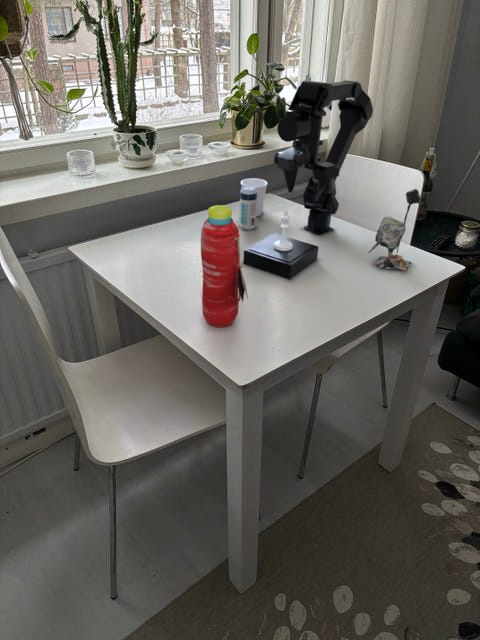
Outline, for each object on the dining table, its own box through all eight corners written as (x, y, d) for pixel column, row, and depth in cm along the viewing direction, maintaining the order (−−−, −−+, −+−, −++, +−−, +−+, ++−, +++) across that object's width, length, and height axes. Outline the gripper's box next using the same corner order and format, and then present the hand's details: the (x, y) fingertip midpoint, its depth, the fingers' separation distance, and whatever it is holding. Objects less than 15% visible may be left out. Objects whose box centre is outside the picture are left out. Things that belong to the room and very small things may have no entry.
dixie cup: (234, 213, 156) (235, 182, 151) (251, 206, 161) (252, 176, 156) (255, 220, 152) (256, 188, 146) (271, 212, 157) (273, 182, 152)
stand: (272, 246, 136) (273, 232, 133) (317, 260, 129) (318, 245, 127) (243, 264, 126) (243, 249, 124) (289, 280, 119) (291, 264, 117)
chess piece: (279, 252, 123) (282, 214, 117) (270, 244, 126) (272, 207, 121) (296, 248, 125) (299, 211, 119) (286, 241, 128) (289, 204, 123)
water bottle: (259, 325, 102) (265, 211, 89) (235, 342, 97) (237, 223, 84) (216, 305, 109) (215, 196, 95) (191, 320, 103) (187, 207, 90)
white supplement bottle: (256, 224, 148) (257, 185, 142) (254, 230, 144) (256, 191, 138) (240, 223, 149) (241, 185, 142) (238, 230, 145) (239, 190, 138)
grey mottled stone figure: (376, 252, 133) (390, 180, 122) (415, 265, 127) (434, 190, 116) (362, 262, 128) (375, 187, 117) (402, 276, 122) (420, 198, 111)
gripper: (260, 132, 125) (257, 192, 133) (313, 147, 113) (306, 212, 121) (291, 128, 131) (286, 186, 140) (345, 142, 119) (336, 204, 128)
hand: (302, 196), depth 132 cm, fingers open, 9 cm apart
